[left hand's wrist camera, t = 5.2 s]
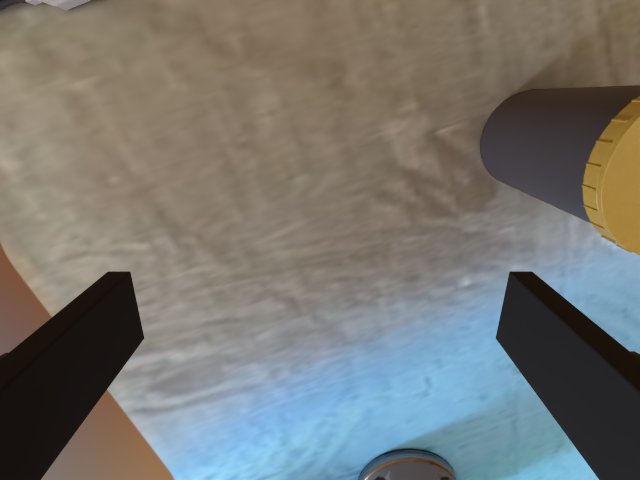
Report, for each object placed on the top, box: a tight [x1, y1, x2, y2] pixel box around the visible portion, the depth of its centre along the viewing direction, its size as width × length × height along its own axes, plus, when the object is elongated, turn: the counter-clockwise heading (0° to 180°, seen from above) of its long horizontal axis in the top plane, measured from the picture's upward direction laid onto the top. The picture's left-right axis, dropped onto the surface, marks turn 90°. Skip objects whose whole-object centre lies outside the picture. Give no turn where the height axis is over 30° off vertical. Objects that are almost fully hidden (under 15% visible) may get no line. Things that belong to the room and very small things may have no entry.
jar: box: [480, 85, 640, 223], centre depth 30 cm, size 10×10×18 cm
